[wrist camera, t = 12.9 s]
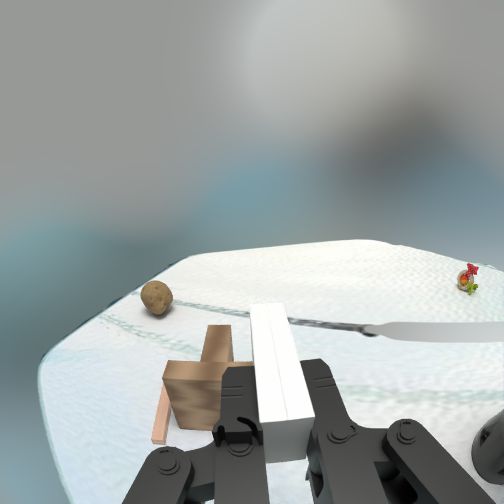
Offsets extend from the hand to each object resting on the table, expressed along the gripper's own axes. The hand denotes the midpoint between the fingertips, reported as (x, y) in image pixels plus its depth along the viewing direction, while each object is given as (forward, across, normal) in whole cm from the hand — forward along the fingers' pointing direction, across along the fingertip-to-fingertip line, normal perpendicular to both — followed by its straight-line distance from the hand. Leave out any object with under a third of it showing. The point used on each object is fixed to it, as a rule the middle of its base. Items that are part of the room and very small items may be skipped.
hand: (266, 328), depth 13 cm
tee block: (+23, -6, -33) cm, 41 cm away
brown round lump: (+56, -26, -33) cm, 70 cm away
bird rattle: (+53, +77, -34) cm, 100 cm away
